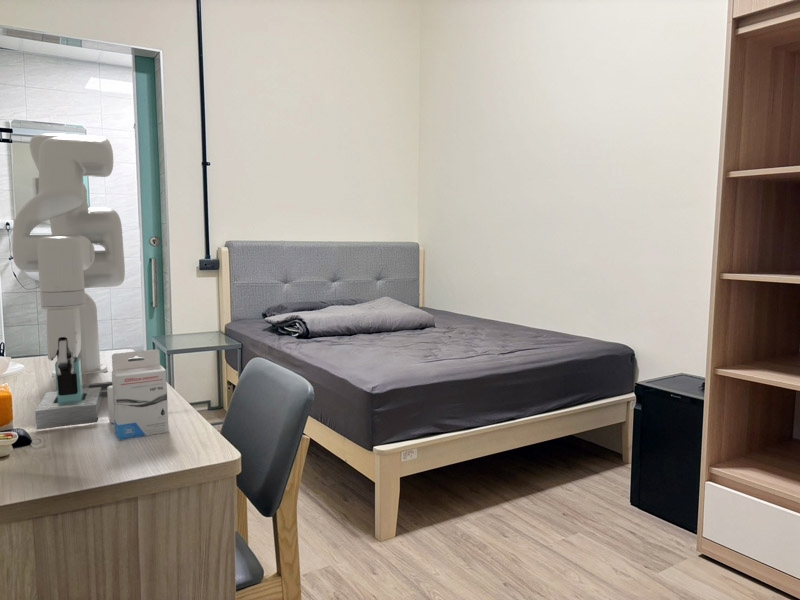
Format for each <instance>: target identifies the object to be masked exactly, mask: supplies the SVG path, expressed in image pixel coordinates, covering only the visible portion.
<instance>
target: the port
mask: <svg viewBox="0 0 800 600" xmlns="http://www.w3.org/2000/svg"><path fill="white" fill-rule="evenodd" d="M102 399H103V397H102V394H101V387H96V388H86V389H83V400H81V401H71V402H62V403H58V397H57V390H56V391H47V392H46V393H45V395H43V397H42V400H41V401H40V403H38V406H37V407H36V409H35V410H34V414H35V415H34V416H35V426H36V430H44V429H52V428H60V427H69V426H78V425H85V424H86V425H87V424H95V423H98V420H99V417H98V416H99V410H100V407H101V404H102Z"/></svg>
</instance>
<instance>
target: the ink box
mask: <svg viewBox="0 0 800 600" xmlns="http://www.w3.org/2000/svg"><path fill="white" fill-rule="evenodd" d="M160 353H161V352H160V349H158V348H157V349H149V350H148V349H145V350H136V351H126V352H117V353H113V354H111V367H112V371H111V382H112V387H113V404H114V423H115V424H114V423H113V424H114V434H115V436H116V437H117V439H118V440H119V441H123V440H124V441H125V440H130V439H135V438H142V437H147V436H153V435H159V434H165V433H169V432H170V429H169V410H168V409H169V408H168V407H169V406H168V403H169V402H168V385H167V384H168V383H167V369H165V368H164V367H163V366H162V365H161V363H160V361H161V358H160V357H161V355H160ZM135 357H137V358H144V360H140V361H130V362H129V361H128V359H131V358H135Z"/></svg>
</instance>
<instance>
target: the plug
mask: <svg viewBox="0 0 800 600" xmlns="http://www.w3.org/2000/svg"><path fill="white" fill-rule="evenodd" d="M68 363H70V364H71V362H68ZM70 366H71V365H70ZM54 367H55V369H54V370H55V371H56V377H55V381H56V383H55V384H56V391H57V397H58V403H62V402H71V401H81V400H83V388H82V385H83V378H82V377H83V375H82V374H81V359H80V358H75V359H74V369H75V373H76V375H77V389H78V392H77V394H72V395H62V396H60V395H59V393H58V380H57V375H58V367H57V361H55V364H54Z"/></svg>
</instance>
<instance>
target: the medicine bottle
mask: <svg viewBox="0 0 800 600" xmlns="http://www.w3.org/2000/svg"><path fill="white" fill-rule="evenodd" d="M144 359H145V357H136V358H135V357H134V358H129V359H128V361H129V362H130V361H140V360H144ZM107 394H108V396H107V407H108V408H107V409H108V410H107V411H108V420H109V423H111V424H114V425H115V423H114V404H113V387H112V386H108V387H107Z"/></svg>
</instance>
